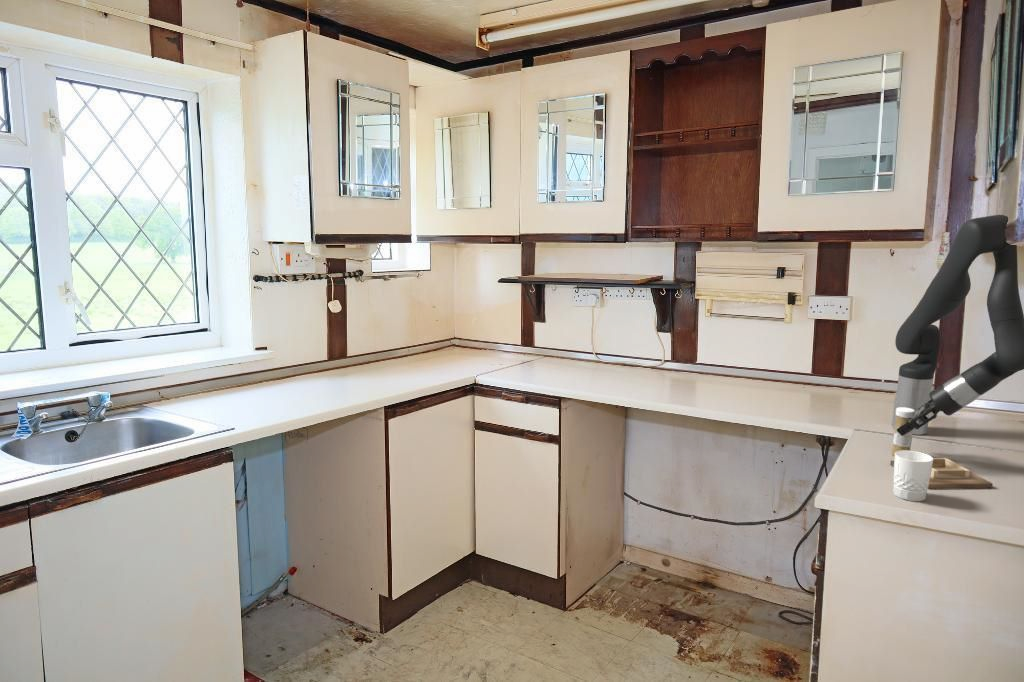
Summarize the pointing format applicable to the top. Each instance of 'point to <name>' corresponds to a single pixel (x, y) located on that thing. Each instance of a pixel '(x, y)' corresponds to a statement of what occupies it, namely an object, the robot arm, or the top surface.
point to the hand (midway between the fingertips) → (900, 428)
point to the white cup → (911, 475)
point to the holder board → (953, 476)
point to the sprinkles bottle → (901, 418)
